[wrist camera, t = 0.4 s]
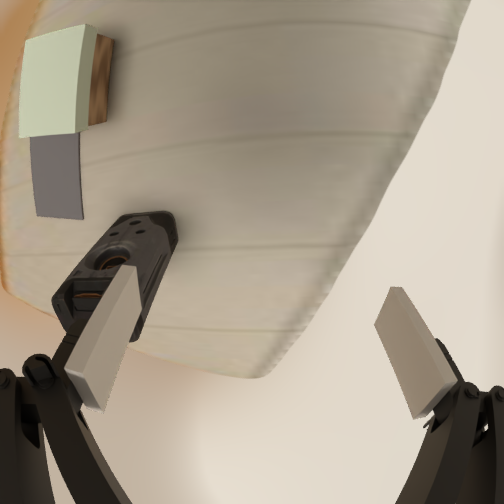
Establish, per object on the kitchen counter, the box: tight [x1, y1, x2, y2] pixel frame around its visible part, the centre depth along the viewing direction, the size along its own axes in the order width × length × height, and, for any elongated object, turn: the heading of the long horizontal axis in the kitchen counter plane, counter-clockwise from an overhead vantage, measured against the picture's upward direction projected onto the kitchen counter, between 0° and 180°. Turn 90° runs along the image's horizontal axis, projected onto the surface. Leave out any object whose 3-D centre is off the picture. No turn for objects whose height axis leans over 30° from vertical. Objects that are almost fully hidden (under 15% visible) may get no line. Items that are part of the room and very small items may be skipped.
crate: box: [88, 34, 114, 126], centre depth 27 cm, size 12×7×7 cm, turn 173°
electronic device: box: [51, 212, 178, 342], centre depth 33 cm, size 9×6×20 cm, turn 93°
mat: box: [30, 132, 84, 220], centre depth 36 cm, size 14×10×1 cm
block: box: [19, 24, 98, 138], centre depth 24 cm, size 12×9×4 cm
